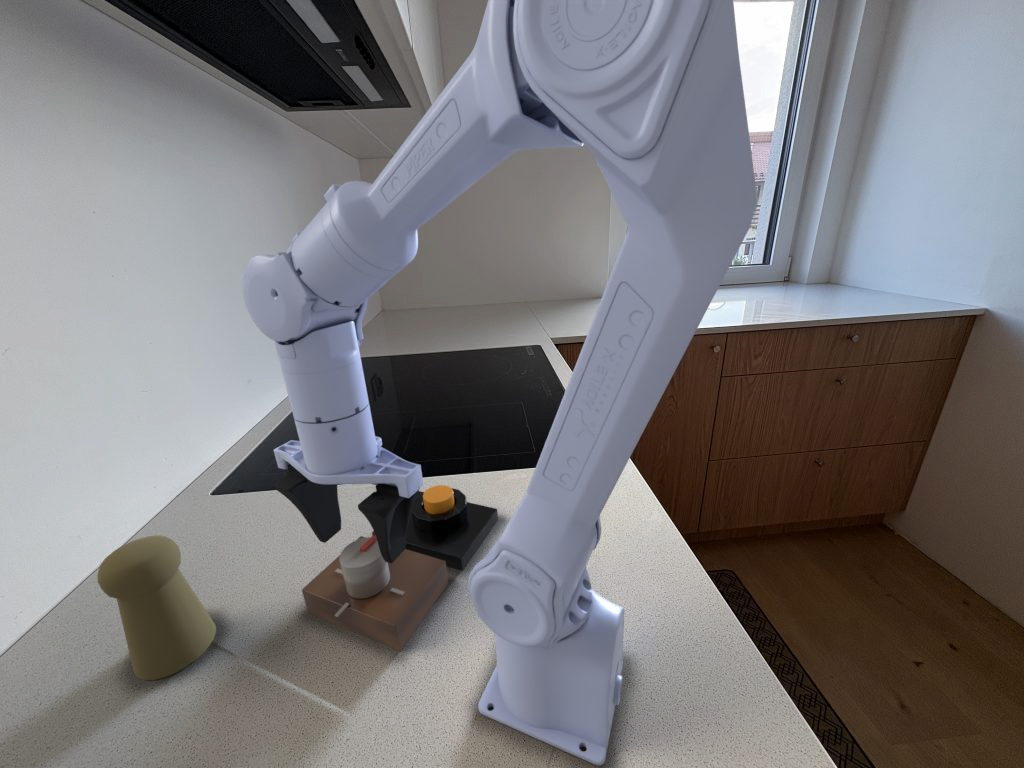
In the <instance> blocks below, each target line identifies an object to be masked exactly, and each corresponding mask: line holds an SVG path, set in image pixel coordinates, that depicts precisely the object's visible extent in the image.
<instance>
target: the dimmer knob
mask: <svg viewBox="0 0 1024 768" xmlns="http://www.w3.org/2000/svg"><path fill="white" fill-rule="evenodd" d="M365 537H366V536H365ZM357 539H358V538H357ZM357 539H356V540H354V541H352V542H350V543H349V544H347V545H346V546H345V547H344V548H343V549H342V550H341V552H340V554H339V555H340V558H339V560H340V565H341V569H342V573H343V577H344V581H345V586H346V590H347V592H348V594H349V595H350V596H352V597H354V598H358V599H364V598H369V597H372V596H374V595H376V594H378V593H379V592H381V591H382V590H383V589H384V588H385V587H386V586H387V584H388V582H389V580H390V572H389V567H388V562H385V561H384V559H383V557H382V555H381V552H380V549H379V545H378V541H377V538H376V535H373V536H372V535H371V536H367V537H366V538H361V539H358V540H357Z"/></svg>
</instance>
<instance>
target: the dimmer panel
mask: <svg viewBox="0 0 1024 768" xmlns="http://www.w3.org/2000/svg"><path fill="white" fill-rule="evenodd" d="M361 538H366V536H362V535H361V536H359V537H358V538H357V539H356V540H358V539H361ZM339 558H340V554H339V555H338V556H337V557H336V558H335V559H334V560H333V561H331V562H330V563H329V564H328V565H327V566H325V568H324V569H322V571H321V572H320V573H318V575H316V576H315V577H314V578H312V579H311V581H309V583H307V584H306V585H305V586H304V587H302V589H301V591H302V592H301V593H302V596H303V600H304V603H305V607H306V611H307V614H309V615H311V616H314V617H316V618H318V619H321V620H323V621H326V622H327V623H330V624H332V625H335V626H337V627H341V628H343V629H344V630H348V631H349V632H352V633H354V634H357V635H360V636H362V637H364V638H367V639H369V640H372V641H374V642H376V643H379V644H381V645H384V646H385V647H388V648H390V649H392V650H395V651H398V652H402V650H403V648H404V647H405V646H406V645H407V643H408V642H409V640H410V639H411V637H412V636H413V634H414V633H415V632H416V631H417V629H418V627H419V626H420V625H421V623H422V622H423V621H424V619H425V618H426V617H427V615H428V613H429V612H430V611H431V609H432V608H433V607H434V605H435V604H436V603H437V601H438V599H439V598H440V597H441V595H442V594H443V592H444V591H445V590H446V588H447V587H448V585H449V578H448V577H449V575H448V570H447V566H446V561H444V560H440V559H437V558H434V557H430V556H427V555H423V554H420V553H417V552H413V551H410V550H407V549H405V550H404V551H403V552H402V553H401V554H400V555H399V556H398V557H397V558H396V560H395V561H394V562H393V563H388V567H389V572H390V580H389V582H388V584H387V586H386V587H385V588H384V589H383V590H382V591H381V592H379V593H378V594H376V595H374V596H372V597H369V598H364V599H358V598H354V597H352V596H350V595H349V594H348V592H347V590H346V586H345V581H344V577H343V573H342V569H341V565H340V560H339Z"/></svg>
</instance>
